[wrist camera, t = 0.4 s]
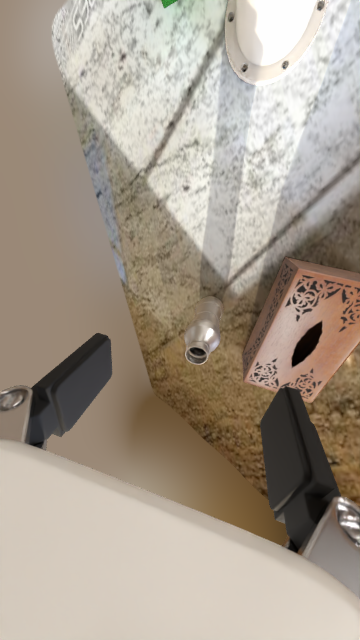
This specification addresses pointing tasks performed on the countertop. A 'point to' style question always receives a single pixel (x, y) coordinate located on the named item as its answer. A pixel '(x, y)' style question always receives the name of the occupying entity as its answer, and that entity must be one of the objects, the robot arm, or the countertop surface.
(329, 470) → the robot arm
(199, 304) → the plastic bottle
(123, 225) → the countertop surface
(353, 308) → the tissue box cover
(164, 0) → the milk carton
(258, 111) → the countertop surface
